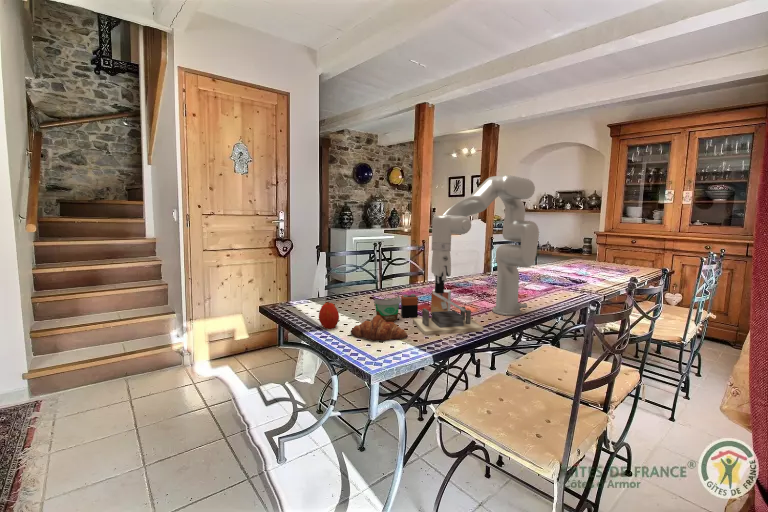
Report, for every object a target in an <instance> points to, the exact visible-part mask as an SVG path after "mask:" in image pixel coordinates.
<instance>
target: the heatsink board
mask: <svg viewBox="0 0 768 512" xmlns="http://www.w3.org/2000/svg"><path fill="white" fill-rule="evenodd" d="M461 307H462V308H464V309H466V306H461ZM421 312H422V313H421V314H422V315H421V316H422V318H413V319H412V323H413V324H414V326H416V327H417V329H418V330H420V332H421V333H422V334H423V335H424V336H434V335H444V334H445V335H446V334H461V333H462V332H463V333H475V332H483V331H484V328H485V327H484V326H482V325H481V324H479V323H478V322H477V321H474V320H473V319H472V310H470V309H466V313H465V312H464V311H462V310H460V313H458V312H457V311H456V310H450V311H440V312H432V313H431V317H430V311H429V310H428V309H427V308H422V311H421Z"/></svg>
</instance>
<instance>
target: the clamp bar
mask: <svg viewBox="0 0 768 512" xmlns="http://www.w3.org/2000/svg"><path fill="white" fill-rule="evenodd" d="M432 294H434V295H435V296H437V297H439V298H441V299H442V300H444V301H446V302H448V303H449V304H450V306H451V305H452V306H453V307H455V308H456V309H458V310H460V311H461V310H462V311H464V312H465V314H466V310H467V309H466V308H465V309H464V308H462V307H463V306H460V305H459V304H456V303H455V302H453V301H452V300H451V301H450V300H448V299H446V298H444V297H443V296H441V295H439V294H437V293H435V292H434V291H433V293H432V292H431V295H432Z"/></svg>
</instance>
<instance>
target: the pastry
mask: <svg viewBox="0 0 768 512" xmlns="http://www.w3.org/2000/svg"><path fill="white" fill-rule="evenodd" d="M349 333H350V335H351V336H353V337H355V338H359V339H360V338H361V339H365V340H368V341H371V342H386V341H391V340H392V341H393V340H403V339H405V338H408V334H407V332H406V330H405V329H403V328H401V327H400V326H399V325H397V324H396V323H395V322H386V321H385V320H383V318H382V317H381V316H379V315H376V314H375V316H373V318H372V319H371V320H364V321H363V322H361V323H360V324H357V325H355V326H353V328H351V330H350V332H349Z"/></svg>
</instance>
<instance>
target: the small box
mask: <svg viewBox="0 0 768 512" xmlns="http://www.w3.org/2000/svg"><path fill="white" fill-rule="evenodd" d="M433 291H434V292H435V288H433V289H432V290H431V297H430V298H431V301H430V313H431V314H432V312H440V311H451V304H449V303H448V302H446V301H444V300H442V299H441V298H439V297H437V296H435V295H434V294H432V293H433ZM437 294H439V295H441V296H443V297H444V298H446V299H448V300H450V301H451V302H452V300H451V299H452V290H451V289H444V293H437Z"/></svg>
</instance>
